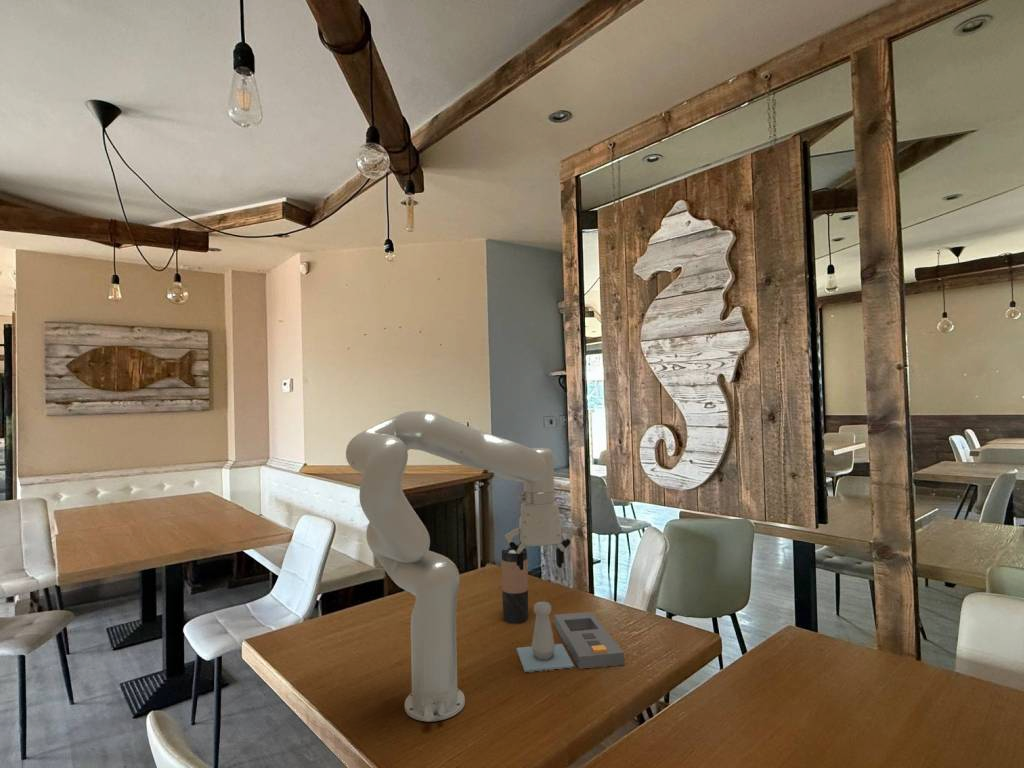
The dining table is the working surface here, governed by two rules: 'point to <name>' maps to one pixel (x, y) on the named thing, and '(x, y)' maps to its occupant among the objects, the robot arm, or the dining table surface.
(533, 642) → the salt shaker
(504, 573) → the travel mug
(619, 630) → the dining table surface
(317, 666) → the dining table surface
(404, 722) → the dining table surface
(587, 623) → the power strip
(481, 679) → the dining table surface
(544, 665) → the rubber mat
